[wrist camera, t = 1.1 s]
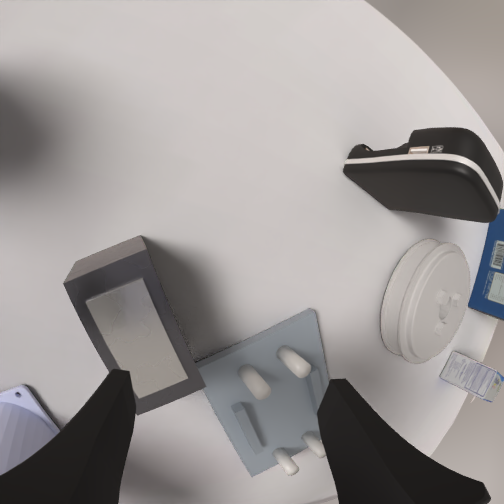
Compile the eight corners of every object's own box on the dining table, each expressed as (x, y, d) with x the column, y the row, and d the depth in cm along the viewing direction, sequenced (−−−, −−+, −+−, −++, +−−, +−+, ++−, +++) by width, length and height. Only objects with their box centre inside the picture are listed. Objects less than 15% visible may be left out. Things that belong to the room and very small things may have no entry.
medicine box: (438, 376, 37) (482, 400, 29) (452, 349, 37) (498, 370, 29) (453, 383, 40) (492, 403, 33) (466, 358, 41) (506, 377, 33)
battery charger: (401, 175, 26) (512, 181, 16) (388, 211, 26) (503, 228, 16) (352, 130, 23) (478, 114, 13) (336, 170, 23) (468, 169, 13)
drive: (130, 371, 20) (137, 417, 15) (76, 261, 17) (62, 284, 12) (186, 347, 21) (207, 388, 16) (140, 234, 18) (147, 249, 14)
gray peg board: (248, 471, 26) (265, 497, 22) (191, 364, 21) (205, 394, 18) (332, 425, 29) (354, 445, 25) (309, 308, 24) (339, 325, 21)
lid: (394, 224, 27) (437, 232, 23) (453, 249, 33) (487, 257, 28) (357, 353, 28) (393, 375, 24) (424, 348, 34) (454, 363, 29)
